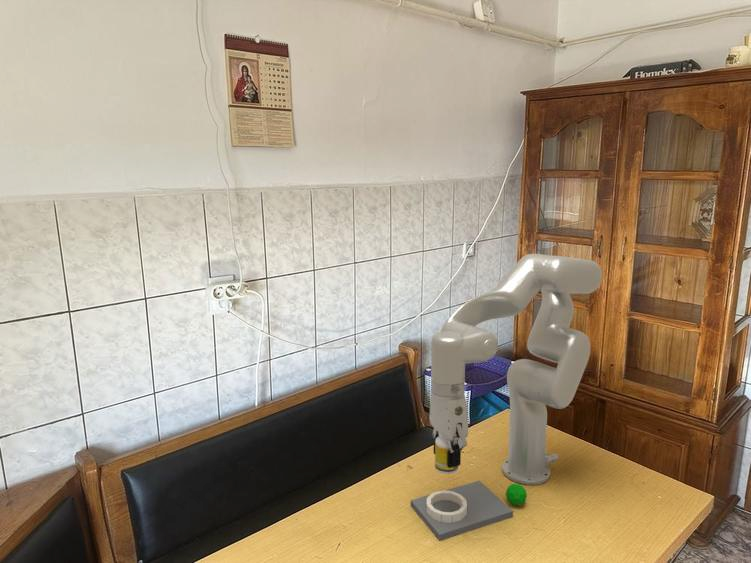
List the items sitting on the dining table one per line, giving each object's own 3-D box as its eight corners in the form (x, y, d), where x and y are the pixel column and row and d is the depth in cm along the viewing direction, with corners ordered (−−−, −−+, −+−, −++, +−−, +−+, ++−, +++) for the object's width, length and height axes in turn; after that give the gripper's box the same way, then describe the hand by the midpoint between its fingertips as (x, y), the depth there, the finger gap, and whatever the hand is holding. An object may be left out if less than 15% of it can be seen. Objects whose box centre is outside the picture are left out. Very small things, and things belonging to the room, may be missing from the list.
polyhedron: (503, 497, 134) (503, 480, 133) (522, 496, 134) (522, 479, 133) (509, 510, 129) (510, 492, 128) (529, 508, 130) (530, 490, 129)
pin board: (479, 485, 139) (479, 473, 138) (512, 516, 127) (513, 503, 126) (410, 505, 132) (410, 492, 131) (439, 540, 119) (439, 526, 118)
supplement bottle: (457, 476, 122) (458, 436, 120) (433, 473, 123) (434, 434, 121) (458, 463, 127) (459, 425, 125) (435, 461, 128) (436, 423, 126)
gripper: (483, 397, 115) (481, 474, 118) (442, 371, 130) (442, 439, 134) (453, 404, 112) (452, 482, 115) (415, 376, 127) (415, 446, 131)
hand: (446, 458), depth 124 cm, fingers closed on supplement bottle, 5 cm apart
